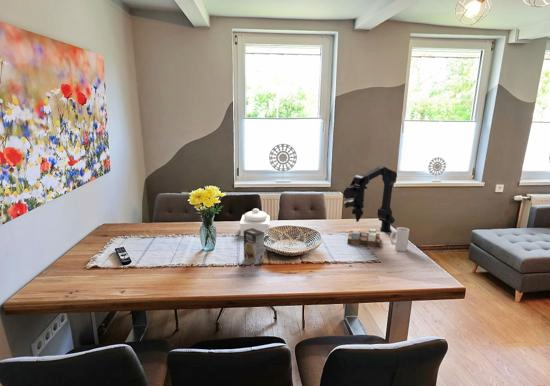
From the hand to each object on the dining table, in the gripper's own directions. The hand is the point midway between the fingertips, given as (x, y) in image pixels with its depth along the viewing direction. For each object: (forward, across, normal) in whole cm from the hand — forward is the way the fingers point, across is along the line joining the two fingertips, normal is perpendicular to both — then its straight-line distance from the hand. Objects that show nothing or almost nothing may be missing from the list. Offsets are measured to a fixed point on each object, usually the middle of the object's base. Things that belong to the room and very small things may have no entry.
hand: (357, 221), depth 199 cm
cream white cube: (+8, +7, +9) cm, 14 cm away
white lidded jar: (+11, +8, -63) cm, 64 cm away
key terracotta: (+9, 0, 0) cm, 9 cm away
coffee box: (+11, +46, -50) cm, 69 cm away
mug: (+11, +9, +24) cm, 28 cm away
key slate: (+8, +7, 0) cm, 11 cm away
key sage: (+8, 0, +9) cm, 12 cm away
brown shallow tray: (+11, +3, +4) cm, 12 cm away
